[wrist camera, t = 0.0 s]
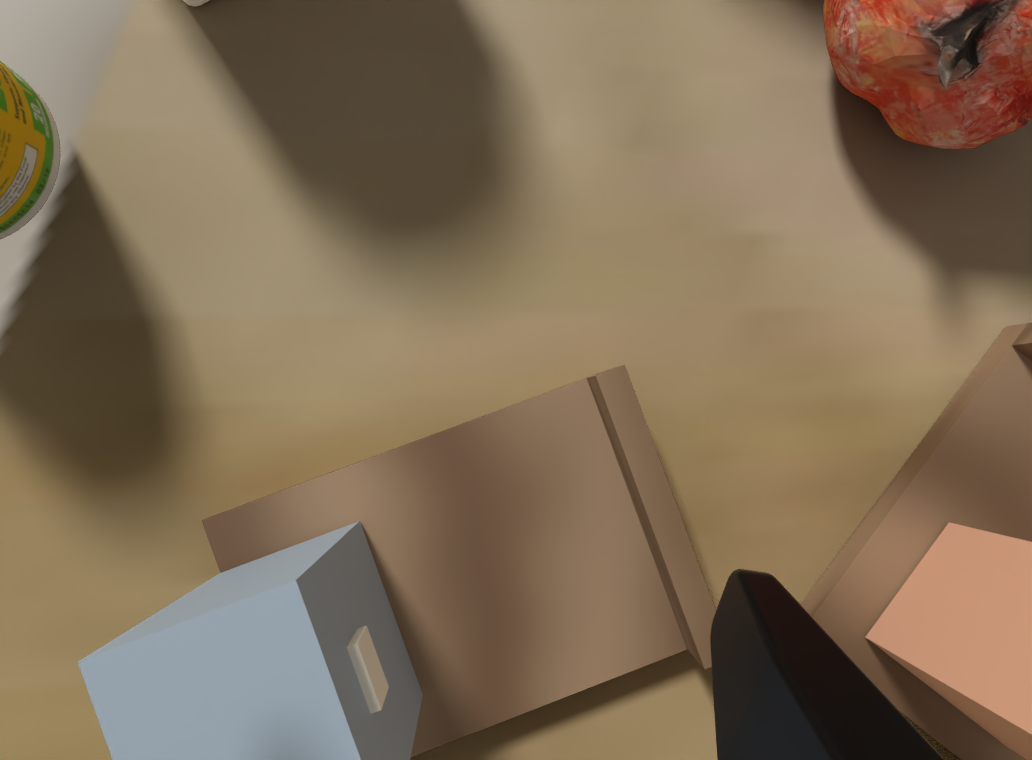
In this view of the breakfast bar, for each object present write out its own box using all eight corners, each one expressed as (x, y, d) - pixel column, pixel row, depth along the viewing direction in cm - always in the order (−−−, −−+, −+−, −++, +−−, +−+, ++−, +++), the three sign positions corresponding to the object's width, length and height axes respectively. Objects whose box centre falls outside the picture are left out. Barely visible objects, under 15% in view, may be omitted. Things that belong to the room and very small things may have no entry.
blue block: (282, 748, 23) (174, 934, 15) (219, 573, 23) (77, 661, 15) (430, 691, 23) (404, 843, 15) (367, 518, 23) (307, 575, 15)
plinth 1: (309, 783, 24) (286, 834, 21) (213, 515, 24) (177, 530, 21) (704, 629, 24) (733, 657, 21) (607, 370, 24) (624, 364, 22)
